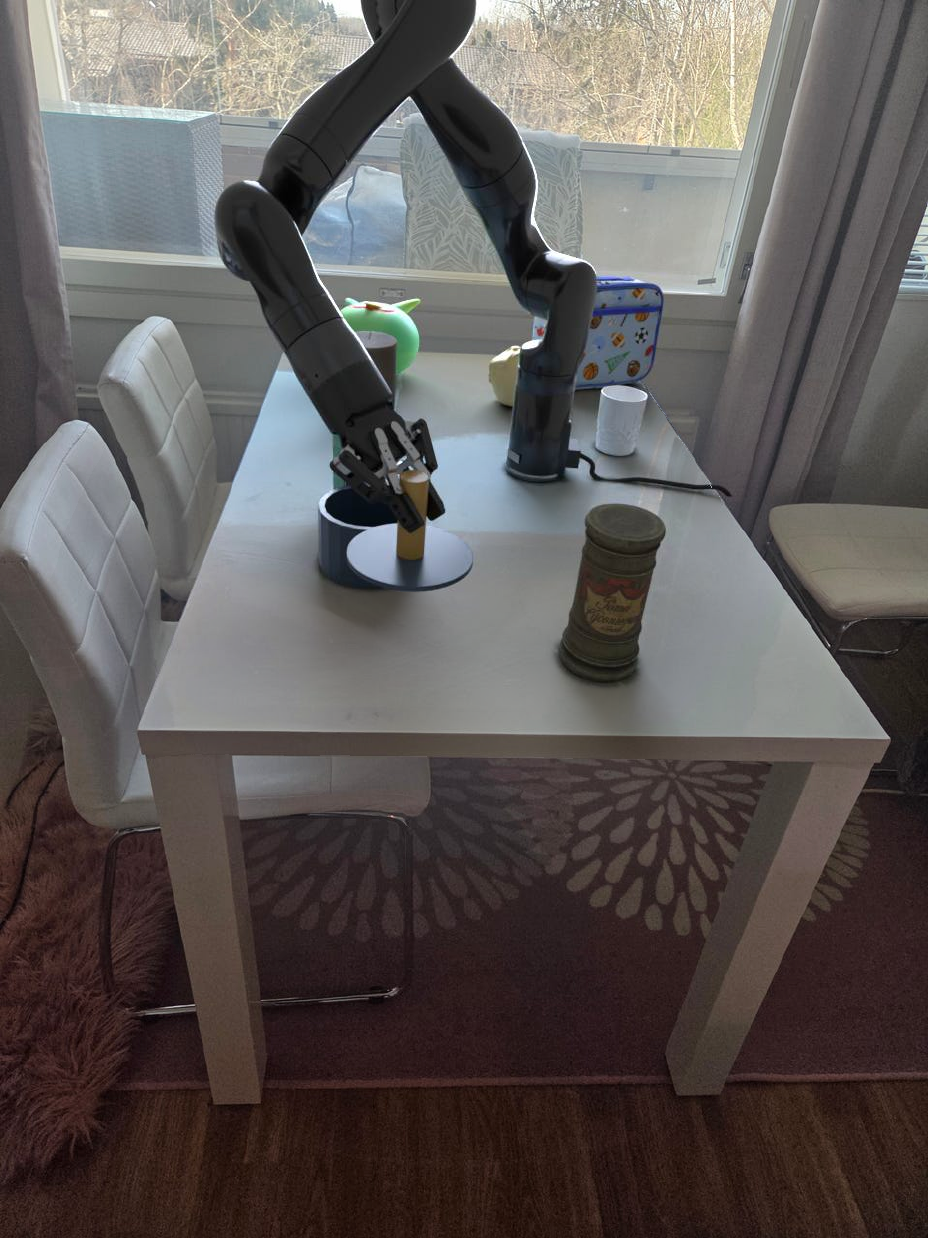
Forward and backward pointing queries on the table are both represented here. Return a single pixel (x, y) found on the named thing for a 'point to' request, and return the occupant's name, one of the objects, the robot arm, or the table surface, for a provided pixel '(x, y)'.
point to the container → (611, 592)
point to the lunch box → (618, 333)
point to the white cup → (619, 419)
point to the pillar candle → (382, 355)
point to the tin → (346, 531)
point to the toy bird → (386, 325)
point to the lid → (410, 549)
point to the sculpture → (504, 375)
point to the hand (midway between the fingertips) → (427, 522)
